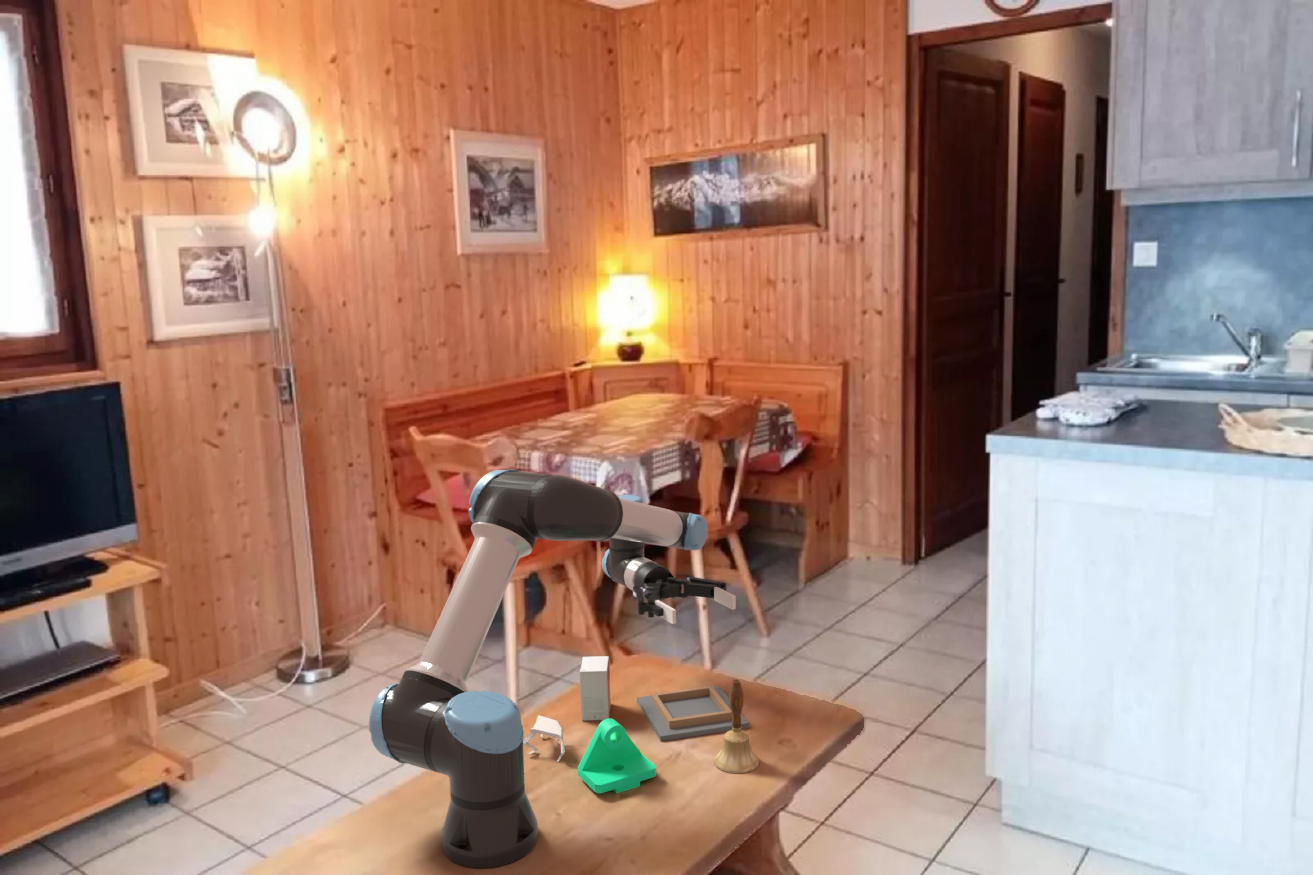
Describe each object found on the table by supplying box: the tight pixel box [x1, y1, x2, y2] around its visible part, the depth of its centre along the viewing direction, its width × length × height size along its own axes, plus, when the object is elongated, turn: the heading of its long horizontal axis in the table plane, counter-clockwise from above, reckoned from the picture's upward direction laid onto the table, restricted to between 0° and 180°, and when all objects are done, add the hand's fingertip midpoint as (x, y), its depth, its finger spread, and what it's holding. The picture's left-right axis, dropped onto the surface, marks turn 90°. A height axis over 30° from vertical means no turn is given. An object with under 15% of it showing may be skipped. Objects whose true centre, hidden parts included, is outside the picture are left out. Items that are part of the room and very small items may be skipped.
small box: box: [579, 655, 611, 722], centre depth 209 cm, size 8×6×10 cm
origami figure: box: [523, 714, 566, 763], centre depth 194 cm, size 12×8×5 cm
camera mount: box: [577, 717, 657, 794], centre depth 182 cm, size 12×8×10 cm, turn 120°
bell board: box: [636, 685, 750, 742], centre depth 208 cm, size 18×18×2 cm
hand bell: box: [713, 679, 760, 774], centre depth 187 cm, size 8×8×16 cm
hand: (704, 610), depth 198 cm, fingers open, 13 cm apart
